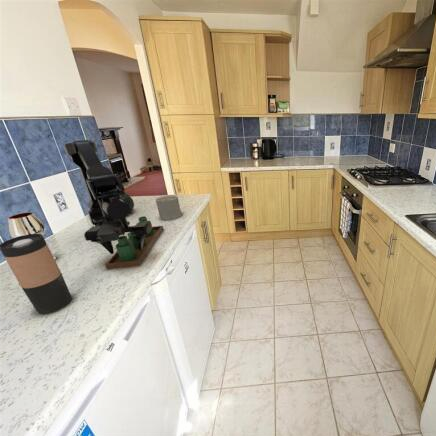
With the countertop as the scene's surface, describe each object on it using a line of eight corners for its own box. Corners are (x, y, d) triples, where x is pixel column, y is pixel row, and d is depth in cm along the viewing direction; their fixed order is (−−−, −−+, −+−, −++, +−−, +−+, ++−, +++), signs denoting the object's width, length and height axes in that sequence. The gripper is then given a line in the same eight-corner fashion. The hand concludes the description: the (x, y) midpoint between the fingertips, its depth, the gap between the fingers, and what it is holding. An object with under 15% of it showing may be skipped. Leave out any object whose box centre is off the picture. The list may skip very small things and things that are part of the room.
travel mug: (51, 296, 70) (19, 234, 62) (79, 294, 70) (51, 232, 62) (27, 316, 63) (-13, 249, 55) (58, 313, 63) (23, 247, 55)
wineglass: (64, 257, 89) (43, 212, 82) (37, 270, 82) (11, 221, 75) (50, 254, 91) (28, 210, 84) (22, 266, 84) (-4, 219, 77)
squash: (89, 207, 123) (95, 187, 115) (118, 199, 136) (125, 181, 128) (108, 227, 122) (115, 209, 115) (135, 217, 135) (143, 200, 127)
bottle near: (139, 239, 101) (133, 220, 98) (143, 233, 106) (138, 215, 103) (151, 237, 102) (146, 219, 99) (155, 232, 107) (150, 214, 103)
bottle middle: (129, 250, 93) (123, 230, 89) (134, 244, 97) (128, 225, 94) (143, 249, 94) (137, 229, 90) (148, 242, 98) (142, 223, 95)
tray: (106, 269, 81) (104, 264, 81) (139, 231, 108) (137, 228, 107) (139, 265, 83) (138, 260, 82) (163, 229, 109) (162, 225, 109)
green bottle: (118, 263, 84) (110, 241, 81) (124, 255, 89) (117, 235, 85) (133, 261, 85) (126, 240, 81) (139, 254, 89) (132, 233, 86)
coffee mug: (182, 217, 122) (178, 198, 118) (160, 221, 117) (155, 202, 113) (179, 209, 133) (175, 192, 129) (159, 213, 128) (154, 195, 124)
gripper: (64, 224, 71) (84, 268, 77) (134, 217, 74) (147, 261, 80) (86, 210, 81) (102, 250, 87) (147, 205, 84) (157, 244, 90)
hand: (127, 252), depth 86 cm, fingers open, 9 cm apart
